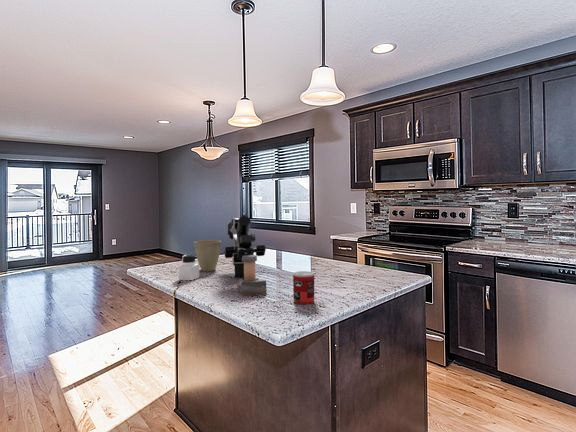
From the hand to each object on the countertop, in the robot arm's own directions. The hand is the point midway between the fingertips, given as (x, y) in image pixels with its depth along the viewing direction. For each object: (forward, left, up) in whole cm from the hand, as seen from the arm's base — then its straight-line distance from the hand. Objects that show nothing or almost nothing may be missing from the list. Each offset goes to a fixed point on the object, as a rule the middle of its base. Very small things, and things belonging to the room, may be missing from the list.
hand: (247, 266), depth 162 cm
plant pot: (-29, +35, -9) cm, 46 cm away
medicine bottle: (-32, +13, -9) cm, 36 cm away
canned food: (+26, -24, -9) cm, 37 cm away
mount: (+3, -9, -9) cm, 13 cm away
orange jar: (+2, -6, -7) cm, 9 cm away
